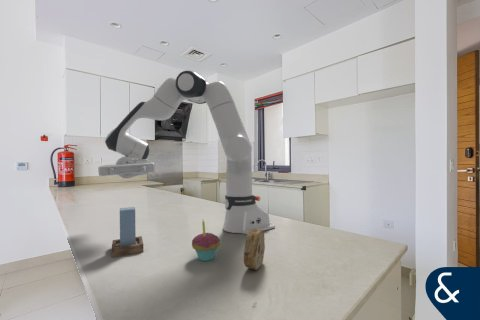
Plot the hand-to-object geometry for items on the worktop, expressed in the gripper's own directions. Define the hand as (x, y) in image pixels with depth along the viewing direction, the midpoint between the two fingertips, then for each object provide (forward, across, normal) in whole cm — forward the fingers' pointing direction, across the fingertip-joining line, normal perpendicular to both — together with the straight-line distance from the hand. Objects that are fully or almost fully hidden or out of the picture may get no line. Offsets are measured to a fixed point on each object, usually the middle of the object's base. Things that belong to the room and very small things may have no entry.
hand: (128, 170), depth 88 cm
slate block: (+13, -2, +23) cm, 27 cm away
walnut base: (+13, -2, +25) cm, 28 cm away
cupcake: (+31, +18, +25) cm, 44 cm away
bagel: (+44, +28, +25) cm, 57 cm away
